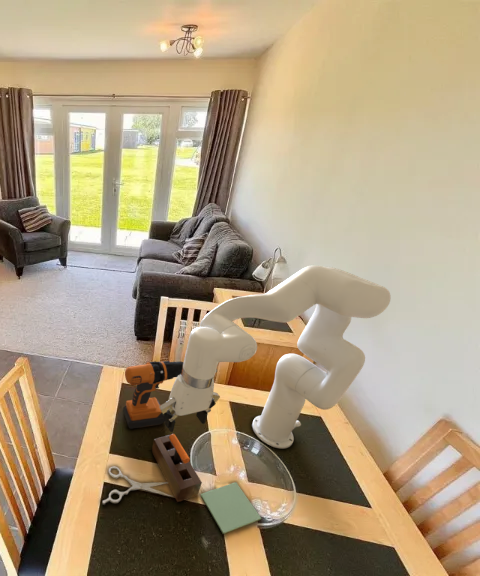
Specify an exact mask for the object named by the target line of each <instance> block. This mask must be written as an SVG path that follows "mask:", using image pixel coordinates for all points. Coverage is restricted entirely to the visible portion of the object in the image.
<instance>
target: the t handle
mask: <svg viewBox="0 0 480 576" xmlns="http://www.w3.org/2000/svg"><path fill="white" fill-rule="evenodd" d="M169 435H170V436H169V439H170V440H171V442H172V444H173V445H174V447H175V453H174V458H173V463H174V464H175V465H176V464H179V461H180V457H181V459H182V461H183V463H188V462H190V461H191V458H190V456H189V455H188V453H187V452H186V450H185V449H184V447H183V445H182V443H181V442H180V440H179V438H178V437H177V436H176V434H175V433H172V435H171V434H169Z"/></svg>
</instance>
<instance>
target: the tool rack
mask: <svg viewBox="0 0 480 576" xmlns="http://www.w3.org/2000/svg"><path fill="white" fill-rule="evenodd" d="M172 434H173V433H172ZM172 434H168V435H165V436H161V437H156V438H154V439H153V442H152V446H151V447H152V448H151V453H152V455H153V457H154V459H155V461H156V463H157V465H158V467H159V469H160V471H161V473H162V475H163V477H164V479H165V482H168V483H167V485H168V487H169V489H170V491H171V492H172V496H173V497H174V498H175V500H176V503H180V502H182V501H186V500H188V499H191V498H195V497H197V496H199V494H200V491H201V490H200V489H201V487H202V484H203V482H202V480H201V479H200V477H199V475H198V474H197V472H196V471H195V468H194V467H193V465H192V463H191V462H190V461H189V462H188V463H183V461H182V459H181V457H180V461H179V464H176V465H175V464H174V463H173V458H174V453H175V447H174V445H173V444H172V442H171V440H170V439H169V436H170V435H172Z"/></svg>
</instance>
